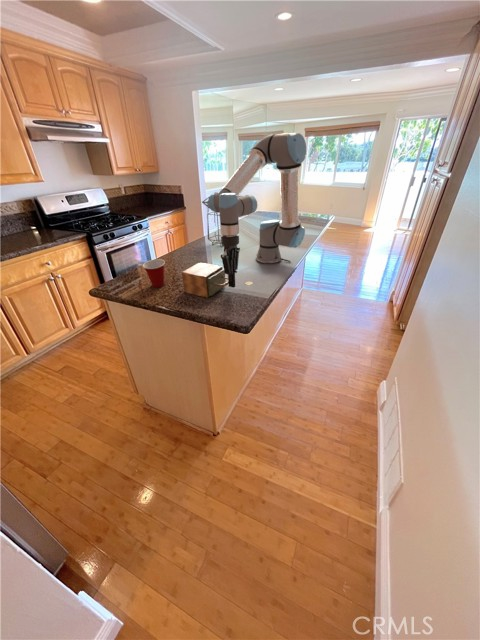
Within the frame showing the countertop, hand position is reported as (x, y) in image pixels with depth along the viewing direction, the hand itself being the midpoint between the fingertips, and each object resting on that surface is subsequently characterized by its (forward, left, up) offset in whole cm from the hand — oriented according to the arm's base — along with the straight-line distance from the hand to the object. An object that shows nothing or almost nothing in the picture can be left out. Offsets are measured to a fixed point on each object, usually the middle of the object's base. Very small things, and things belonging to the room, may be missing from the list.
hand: (232, 286), depth 123 cm
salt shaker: (+12, -4, -3) cm, 13 cm away
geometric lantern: (+24, -81, -5) cm, 85 cm away
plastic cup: (+40, -7, -5) cm, 41 cm away
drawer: (+10, -4, -4) cm, 11 cm away
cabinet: (+15, -5, -5) cm, 17 cm away
